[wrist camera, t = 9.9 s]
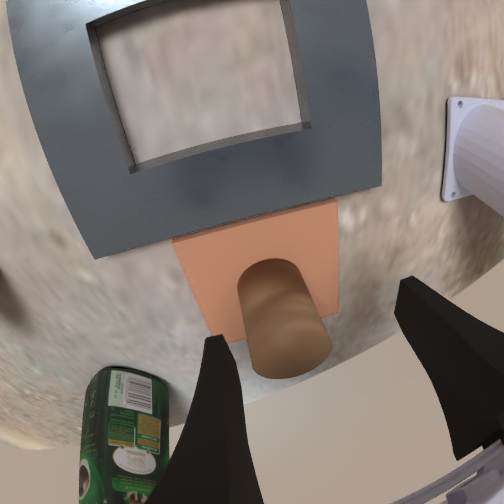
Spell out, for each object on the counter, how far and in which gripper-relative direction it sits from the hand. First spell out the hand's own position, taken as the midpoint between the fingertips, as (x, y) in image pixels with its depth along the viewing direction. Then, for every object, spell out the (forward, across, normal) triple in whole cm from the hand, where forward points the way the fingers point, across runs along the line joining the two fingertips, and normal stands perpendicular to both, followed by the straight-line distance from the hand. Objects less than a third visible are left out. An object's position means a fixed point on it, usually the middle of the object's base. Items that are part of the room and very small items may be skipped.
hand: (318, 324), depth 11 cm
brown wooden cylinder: (+8, +1, +5) cm, 9 cm away
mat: (+8, +1, +5) cm, 10 cm away
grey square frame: (+8, +2, -9) cm, 13 cm away
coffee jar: (+8, +17, +14) cm, 24 cm away
